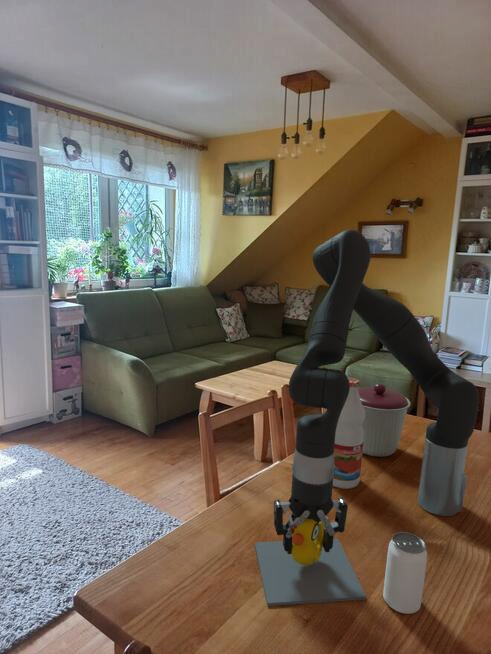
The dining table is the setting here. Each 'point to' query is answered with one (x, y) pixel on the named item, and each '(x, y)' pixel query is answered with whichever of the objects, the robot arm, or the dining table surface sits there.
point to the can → (405, 573)
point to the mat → (306, 576)
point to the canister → (382, 419)
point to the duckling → (307, 542)
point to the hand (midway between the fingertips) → (307, 550)
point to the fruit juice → (349, 440)
